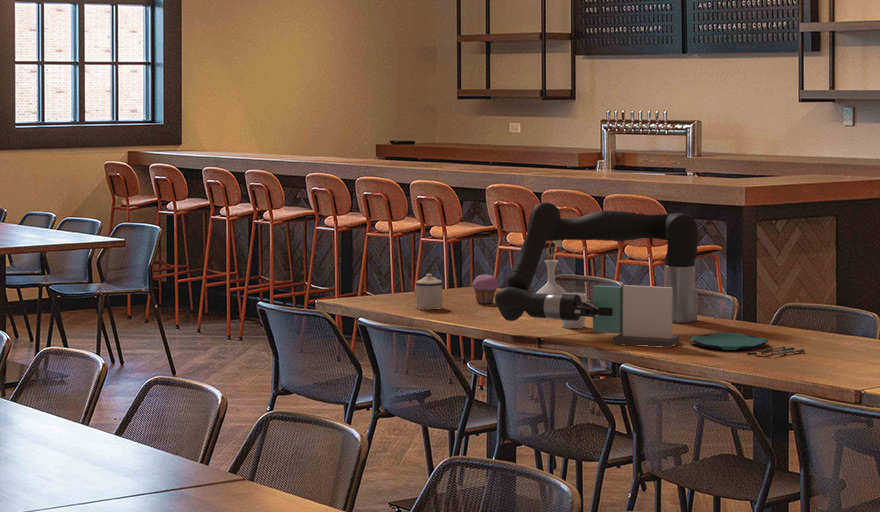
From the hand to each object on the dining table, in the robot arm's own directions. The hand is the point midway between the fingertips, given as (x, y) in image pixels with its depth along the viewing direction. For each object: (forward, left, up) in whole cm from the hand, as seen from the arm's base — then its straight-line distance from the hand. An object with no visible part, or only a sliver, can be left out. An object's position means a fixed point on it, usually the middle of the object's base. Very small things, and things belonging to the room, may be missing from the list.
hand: (617, 309), depth 348 cm
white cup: (+2, -28, -9) cm, 29 cm away
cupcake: (+12, -85, -9) cm, 86 cm away
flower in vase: (-12, -85, -9) cm, 86 cm away
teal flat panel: (+2, -2, -6) cm, 7 cm away
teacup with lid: (+34, -81, -9) cm, 88 cm away
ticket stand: (-6, +6, -9) cm, 12 cm away
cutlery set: (-28, +20, -10) cm, 36 cm away
